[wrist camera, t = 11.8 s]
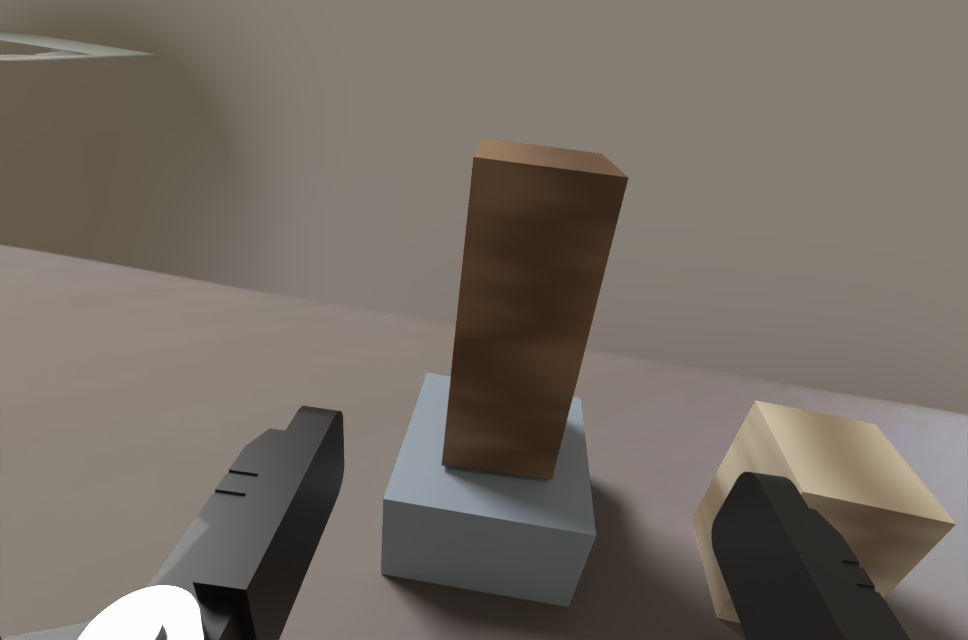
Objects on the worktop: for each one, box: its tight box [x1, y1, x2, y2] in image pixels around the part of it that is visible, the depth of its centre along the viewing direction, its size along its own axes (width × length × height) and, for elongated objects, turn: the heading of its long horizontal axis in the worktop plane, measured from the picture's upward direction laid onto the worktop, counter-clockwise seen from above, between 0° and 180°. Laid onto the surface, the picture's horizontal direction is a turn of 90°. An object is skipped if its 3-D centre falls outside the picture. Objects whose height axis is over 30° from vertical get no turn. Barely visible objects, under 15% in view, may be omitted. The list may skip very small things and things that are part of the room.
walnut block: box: [441, 138, 628, 480], centre depth 19 cm, size 4×4×12 cm
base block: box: [381, 373, 596, 607], centre depth 22 cm, size 8×8×5 cm
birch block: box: [692, 401, 956, 623], centre depth 20 cm, size 5×5×8 cm
